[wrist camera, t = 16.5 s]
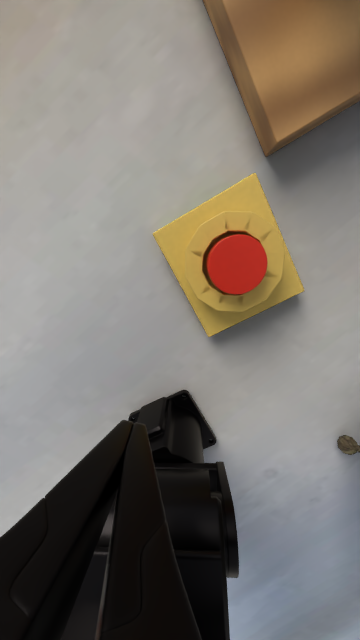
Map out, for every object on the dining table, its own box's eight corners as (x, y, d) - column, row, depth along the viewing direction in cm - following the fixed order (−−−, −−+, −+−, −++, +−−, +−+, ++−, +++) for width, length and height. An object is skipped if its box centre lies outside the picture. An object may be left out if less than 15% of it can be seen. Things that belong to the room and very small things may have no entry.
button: (268, 274, 17) (277, 277, 15) (220, 299, 17) (223, 304, 16) (246, 225, 16) (253, 222, 14) (197, 252, 16) (197, 253, 15)
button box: (295, 287, 20) (317, 295, 16) (207, 330, 21) (210, 346, 18) (249, 179, 18) (263, 162, 14) (155, 234, 19) (147, 231, 16)
